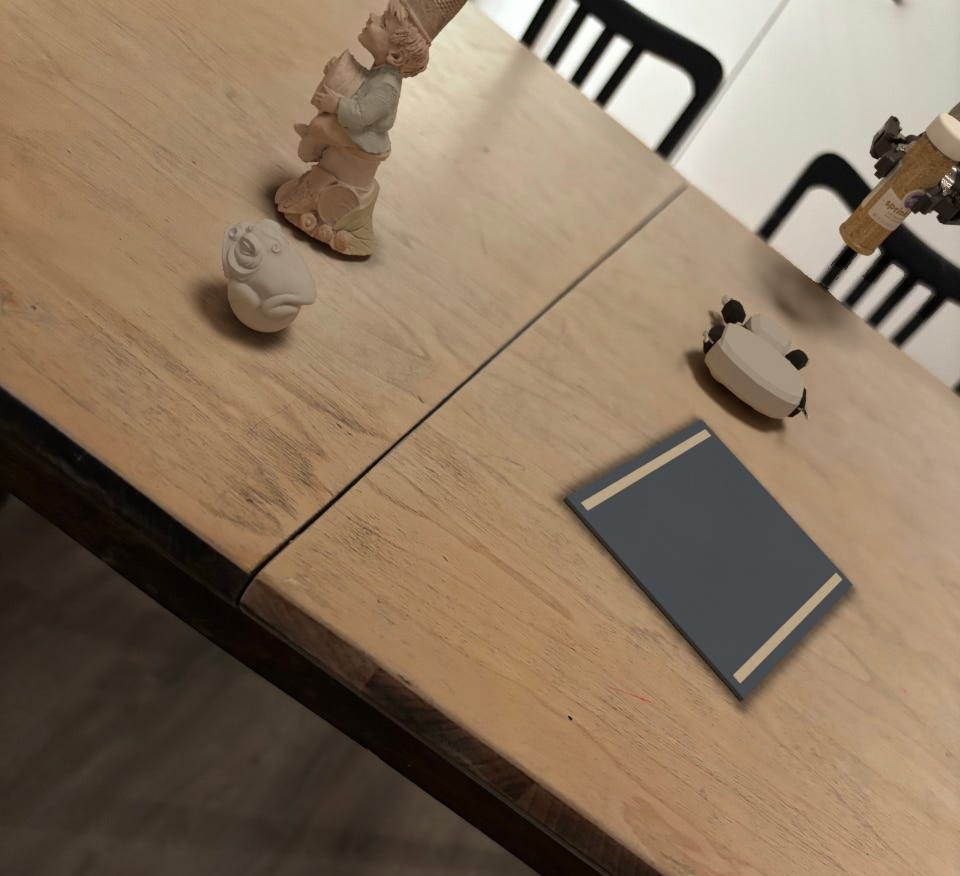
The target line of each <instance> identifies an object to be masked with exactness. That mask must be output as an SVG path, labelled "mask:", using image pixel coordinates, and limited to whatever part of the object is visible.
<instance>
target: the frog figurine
mask: <svg viewBox="0 0 960 876" xmlns="http://www.w3.org/2000/svg"><path fill="white" fill-rule="evenodd" d="M222 238H223V239H222V249H221V250H222V251H221V262H222V264H221V265H222V271H223V277H224V278H226V279H227V280H228V281H227V298H228V299H227V300H228V303H229V305H230V308H231V310H232V312H233V314H234V315H235V316H236V318H237V319H238V320H239V321H240V322H241V323H242V324H243V325H244V326H246V327H247V328H250V329H251V330H254V331H256V332H261V333H275V332H279V331H281V330H283V329H285V328H287V327H289V326H290V325H291V324H292V323H293V322H294V321H295V320H296V318H297V317H298V315H299V313H300V311H301V308H302V306H311V305H313V304H315V303H316V299H317V294H318V293H317V284H316V281H315V278H314V277H313V275H312V273H311V271H310V269H309V267H308V265H307V263H306V261H305V260H304V258H303V256H302V254H301V252H300V251H299V250H298V247H296V246H295V245H294V244H293V243H292V242H291V241H290V239H288V237H287V236H286V234H285V233H283V231H282V228H281V225H280V224H279V223H278V222H276V221H274V219H271V218H262V219H260V220H257V221H256V222H254V223H251V222H250V221H240V222H231V223H229V224H228V225H227V226H226V227H225V229H224V232H223V237H222Z"/></svg>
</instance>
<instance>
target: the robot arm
mask: <svg viewBox="0 0 960 876" xmlns="http://www.w3.org/2000/svg"><path fill="white" fill-rule="evenodd" d="M947 114H948V115H950V116H952V117H954V118H955V119H957V120H958V121H959V122H960V101H958V102H957V104H955V105H954V106H952V108H951V109H950V110H949V111H948V112H947ZM902 131H903V127H902V126H901V121H900V120H899V118H898V117H896V116H894V115H890V116H889V117H888V119H887V120H886V121H885V122H884V123H883V125H882V126H881V127H880V128H879V129H878V131H876V133H875V134H874V135H873V137H872V141H871V143H870V147H869V148H870V149H869V155H870V157H871V158H872V159H874V160H876V162H875V163H874V164H873V168H874V169H875V170H876V171H875V172H874V173H873V175H874V177H875V178H877V179H878V180H882V179H883V178H884V177H885V176H886V174H887V173H888V172H889V171H890V170H891V169H892V168H893V167H894V166H895V164H896V163H897V162H898V161H899V160H900V159H901V158H902V157H903V156H904V155H905V154H906V153H907V152H908V150H909V149H911V148H912V146H913V145H914V144H915V143H916V142H917V141H918V140H919V139H920V138H921V137H922V134H923V132H926V130H924V131H922V132H920V133H919V134H918V135H915V134H908V135H906V136H905V135H904V134H902ZM910 210H911V211H912V212H911V213H913V214H914V215H917V214H919V213H920V214H921V215H923V216H926V215H928V214H932V213H933V212H935V213H937V214H936V219H937V221H938V223H939V224H942V225H943V226H944V225H945V226H960V161H958V163H957V164H956V165H954V166H953V167H952V169H951V170H950V171H949V172H948V173H947V174H946V175H945V176H944V177H943V178H942V179H941V180H940V181H939V183H938V184H937V185H936V186H935V187H933V188H931V189H930V190H928V191H927V192H926V193H925V194H924V195H923V196H922V197H921V198H920V199H919V200H918V201H917V202H916V203H915V204H914V205H913V207H912V208H911V209H910Z"/></svg>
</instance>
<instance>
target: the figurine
mask: <svg viewBox="0 0 960 876" xmlns="http://www.w3.org/2000/svg"><path fill="white" fill-rule="evenodd" d="M468 1H469V0H388V1H387V5H386V9H384V10H383V14H382V15H377V14H375V13H374V12H372V11H371V12H370V13H369V17H368V19H367V21H366V22H365V27H362V29H361V33H359V34H358V35H357V41H358V42H359V43H360V45H361V46H362V47H363V48H364V49H366V50H367V51H368V52H369V53H370V54H371V56H372V58H373V63H372V65H371V67H370V68H369V69H368V68H367V67H366V66H364V65H362V64H361V63H360V62H359V61H358V60H357V59H356V58H355V56H354V54H352V53H351V52H350V49H349V47H348V48H346V49H345V50H344V51H343V52H342V53H341V54H340V55H339V56H338V57H337V56H332V57H331V58H330V59H329V60H328V61H327V63H326V64H325V65H324V69H323V71H322V72H323V75H324V76H323V78H322V79H321V81H320V82H319V84H318V85H317V87H316V89H315V90H314V93H313V95H312V97H311V99H310V104H311V105H312V106H314V107H315V108H316V109H317V113H316V114H317V115H315V116H314V117H313V118H312V119H311V120H310V121H309V123H308V124H306V123H301V122H300V123H298V122H297V123H294V124H293V130H294V132H295V133H296V134H297V135H298V136H299V137H300V138H301V140H299V144H298V146H297V157H298V158H299V159H300V161H301V162H303V163H305V164H308V163H315V164H311V165H310V168H311V169H307V170H306V171H305V172H304V173H302V174H301V175H300V176H298V177H294V178H292V179H290V180H288V181H285V183H283V184H282V185H281V186H280V187H278V189H277V191H276V193H275V196H274V203H275V205H277V211H278V212H279V213H282V214H284V215H283V216H284V218H285V219H286V220H287V221H288V222H290V223H291V224H292V225H294V226H295V227H297V228H299V229H300V230H301V231H303V232H304V233H305V234H307V235H309V236H310V237H312V238H315V239H316V240H317V241H318V240H319V241H320V242H322V243H325V244H326V245H329V246H330V248H331V249H332V250H333V251H336V252H338V253H340V254H343V255H348V256H351V255H352V256H371V255H372V254H373V253H375V251H376V248H377V241H376V237H375V234H374V228H373V227H374V226H373V213H374V209H375V206H376V203H377V200H378V196H379V195H380V190H381V186H380V184H379V182H378V180H377V179H376V178H375V176H376V173H377V171H378V168H379V166H380V165H381V163H382V162H385V161H387V159H388V158H389V157H390V155H391V153H392V142H391V140H390V135H389V131H390V130H391V129H392V128H394V125H395V122H396V119H397V113H398V107H399V104H400V103H399V102H400V98H401V92H402V87H403V86H402V85H403V80H404V79H409V78H414V77H417V76H418V75H419V74H421V73H424V72H425V71H426V70H427V69H428V65H429V61H430V48H431V47H432V44H433V43H432V42H433V41H434V40H435V39H436V38H437V36H438V35H439V34H440V33H441V32H442V31H443V29H445V27H446V26H447V25H448V24H449V23H450V22H451V21H452V20H454V18H455V17H456V16H457V15H458V13H459V12H461V10H462V9H463V8H464V7H465V5H466V4H467V2H468Z"/></svg>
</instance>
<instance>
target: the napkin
mask: <svg viewBox="0 0 960 876" xmlns="http://www.w3.org/2000/svg"><path fill="white" fill-rule="evenodd" d="M563 500H564V502H565V503H566V504H567V506H568V507H569V508H570V509H571V510H572V511H573V512H574V513H575V514H576V515H577V517H578V518H579V519H580V521H582V523H584V524H585V526H586V527H587V528H588V529H589V530H590V531H591V532H592V534H593V535H594V536H595V537H596V538H597V539H598V540H599V541H600V543H601V544H602V545H603V547H605V549H606V550H607V551H608V552H609V553H610V554H611V555H612V556H613V557H614V559H615V560H616V561H617V562H618V564H620V565H621V567H623V569H624V570H625V571H626V573H628V575H629V576H630V577H631V578H632V579H633V581H635V583H636V584H637V585H638V586H639V587H640V589H642V591H643V592H644V593H645V594H646V595H647V596H648V598H649V599H650V600H651V601H652V602H653V603H654V605H656V606H657V607H658V609H659V610H660V612H662V613H663V614H664V616H665V617H666V618H667V619H668V620H669V621H670V622H671V624H672V625H673V626H674V627H675V628H676V629H677V630H678V632H679V633H680V634H681V635H682V636H683V638H685V639H686V641H687V642H688V643H689V644H690V645H691V646H692V648H693V649H694V650H695V651H696V652H697V653H698V655H699V656H700V657H701V658H702V659H703V660H704V661H705V663H707V665H708V666H709V667H710V668H711V669H712V670H713V672H714V673H715V674H716V675H717V676H718V677H719V678H720V679H721V680H722V682H723V683H724V684H725V685H726V686H727V687H728V689H729V690H730V691H731V692H732V693H733V694H734V696H735V697H736V698H738V700H739V701H740V702H742V701H744V700H745V699H746V698H747V697H748V696H749V695H750V694H751V693H752V692H753V691H754V690H755V688H757V686H758V685H760V683H761V682H762V681H763V680H764V679H765V678H766V677H767V676H768V675H769V673H771V672H772V671H773V670H774V668H776V666H778V665H779V663H780V662H781V661H783V659H784V658H785V657H786V656H787V655H788V654H789V653H790V652H791V651H792V650H793V648H794V647H796V645H797V644H798V643H800V641H801V640H802V639H803V638H804V637H805V636H806V635H807V634H808V633H809V632H810V630H812V629H813V628H814V626H816V625H817V624H818V623H819V621H820V620H821V619H822V618H823V617H824V616H825V615H826V614H827V613H828V612H829V611H830V610H831V609H832V607H834V606H835V605H836V603H838V601H839V600H840V599H841V598H842V597H844V595H845V594H846V593H847V592H848V591H849V590H850V589H851V588H852V586H853V582H851V581H850V580H849V579H848V578H847V577H846V575H844V573H843V572H842V571H841V570H840V569H839V568H838V567H837V566H836V564H835V563H834V562H832V561H833V560H831V559H830V558H829V557H828V555H826V554H825V552H823V550H822V549H821V548H820V547H819V546H818V544H816V543H815V541H813V539H812V538H811V537H810V536H809V535H808V533H806V531H804V530H803V528H802V527H801V526H800V525H799V524H798V522H796V520H794V518H793V517H792V516H791V515H790V514H789V513H788V512H787V511H786V510H785V509H784V507H783V506H782V505H781V504H780V503H779V502H778V501H777V500H776V499H775V497H774V496H773V495H772V494H771V493H770V492H769V490H767V489H766V488H765V487H764V486H763V484H762V483H760V481H759V480H758V479H757V478H756V477H755V476H754V475H753V474H752V472H751V471H750V470H749V469H748V468H747V467H746V466H745V465H744V464H743V463H742V462H741V461H740V459H739V458H738V457H737V456H736V455H735V454H734V453H733V452H732V450H730V448H729V447H728V446H727V445H726V444H725V443H724V442H723V440H721V439H720V437H718V435H717V434H716V433H715V432H714V431H713V429H711V428H710V427H709V425H708V424H707V423H706V422H705V421H704V420H703V419H702V418H701V419H699V420H697V421H696V422H694V423H691V424H690V425H688V426H687V427H686V428H683V429H682V430H680V431H678V432H677V433H675V434H673V435H671V436H670V437H668V438H666V439H664V440H663V441H661V442H659V443H658V444H656V445H654V446H652V447H650V448H649V449H647V450H645V451H644V452H642V453H640V454H638V455H636V456H635V457H633V458H631V459H630V460H627V461H626V462H624V463H622V464H621V465H619V466H617V467H615V468H614V469H612V470H611V471H609V472H607V473H605V474H603V475H602V476H600V477H598V478H597V479H594V480H593V481H591V482H590V483H588V484H586V485H584V486H582V487H581V488H579V489H577V490H575V491H574V492H572V493H570V494H568V495H567V496H566V497H564V498H563Z"/></svg>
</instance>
